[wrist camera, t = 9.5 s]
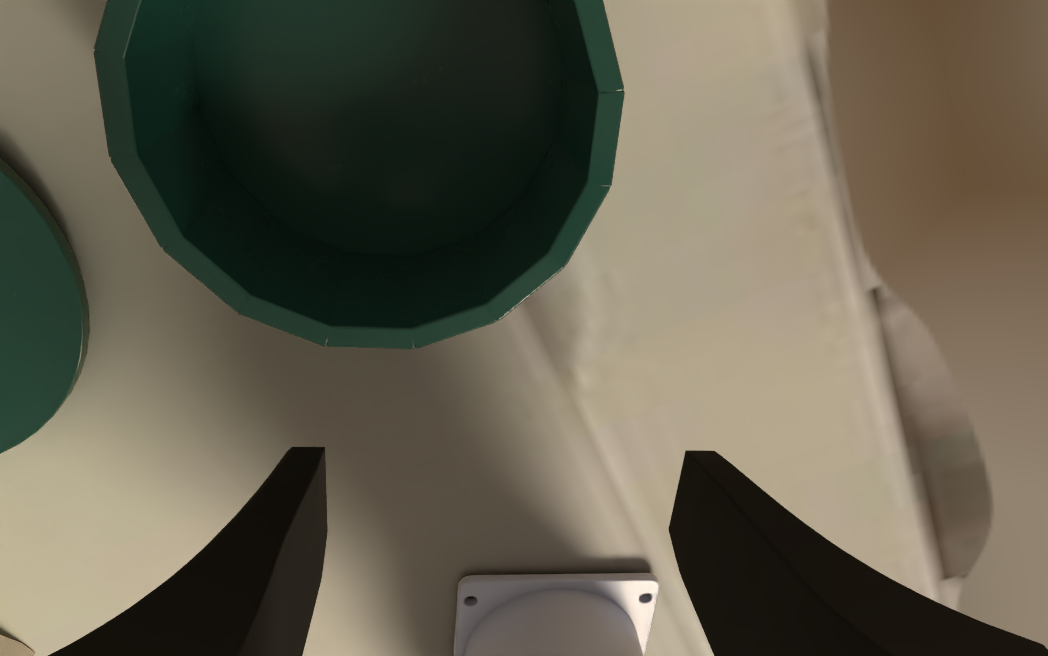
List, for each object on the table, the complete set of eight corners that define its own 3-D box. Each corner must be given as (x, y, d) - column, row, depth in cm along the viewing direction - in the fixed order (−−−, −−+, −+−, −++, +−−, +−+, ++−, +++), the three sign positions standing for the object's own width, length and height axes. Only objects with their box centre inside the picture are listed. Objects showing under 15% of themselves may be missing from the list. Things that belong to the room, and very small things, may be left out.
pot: (556, 274, 25) (588, 355, 20) (197, 259, 23) (135, 342, 18) (601, -120, 20) (658, -143, 15) (153, -171, 18) (53, -215, 13)
